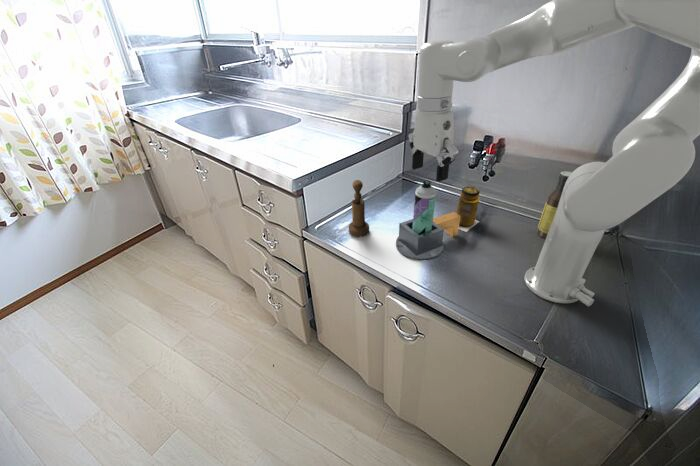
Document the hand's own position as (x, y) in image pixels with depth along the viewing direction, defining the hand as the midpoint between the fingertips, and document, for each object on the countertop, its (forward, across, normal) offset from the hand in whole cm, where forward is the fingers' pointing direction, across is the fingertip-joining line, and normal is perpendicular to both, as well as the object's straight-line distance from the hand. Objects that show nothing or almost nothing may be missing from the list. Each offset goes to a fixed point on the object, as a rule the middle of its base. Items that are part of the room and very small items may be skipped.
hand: (429, 173), depth 82 cm
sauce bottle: (+24, -14, -36) cm, 46 cm away
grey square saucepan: (+23, +1, -3) cm, 24 cm away
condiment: (+24, +4, -19) cm, 31 cm away
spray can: (+22, +1, +1) cm, 23 cm away
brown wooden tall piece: (+23, +17, +13) cm, 31 cm away
